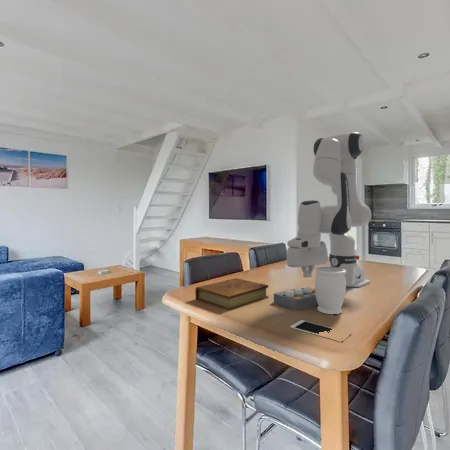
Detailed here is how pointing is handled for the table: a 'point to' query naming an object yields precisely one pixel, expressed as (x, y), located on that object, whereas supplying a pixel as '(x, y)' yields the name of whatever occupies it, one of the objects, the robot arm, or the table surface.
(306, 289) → the button
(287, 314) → the table surface
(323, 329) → the cell phone
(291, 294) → the button
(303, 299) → the board
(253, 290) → the diary
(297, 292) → the button mid
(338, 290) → the jar
